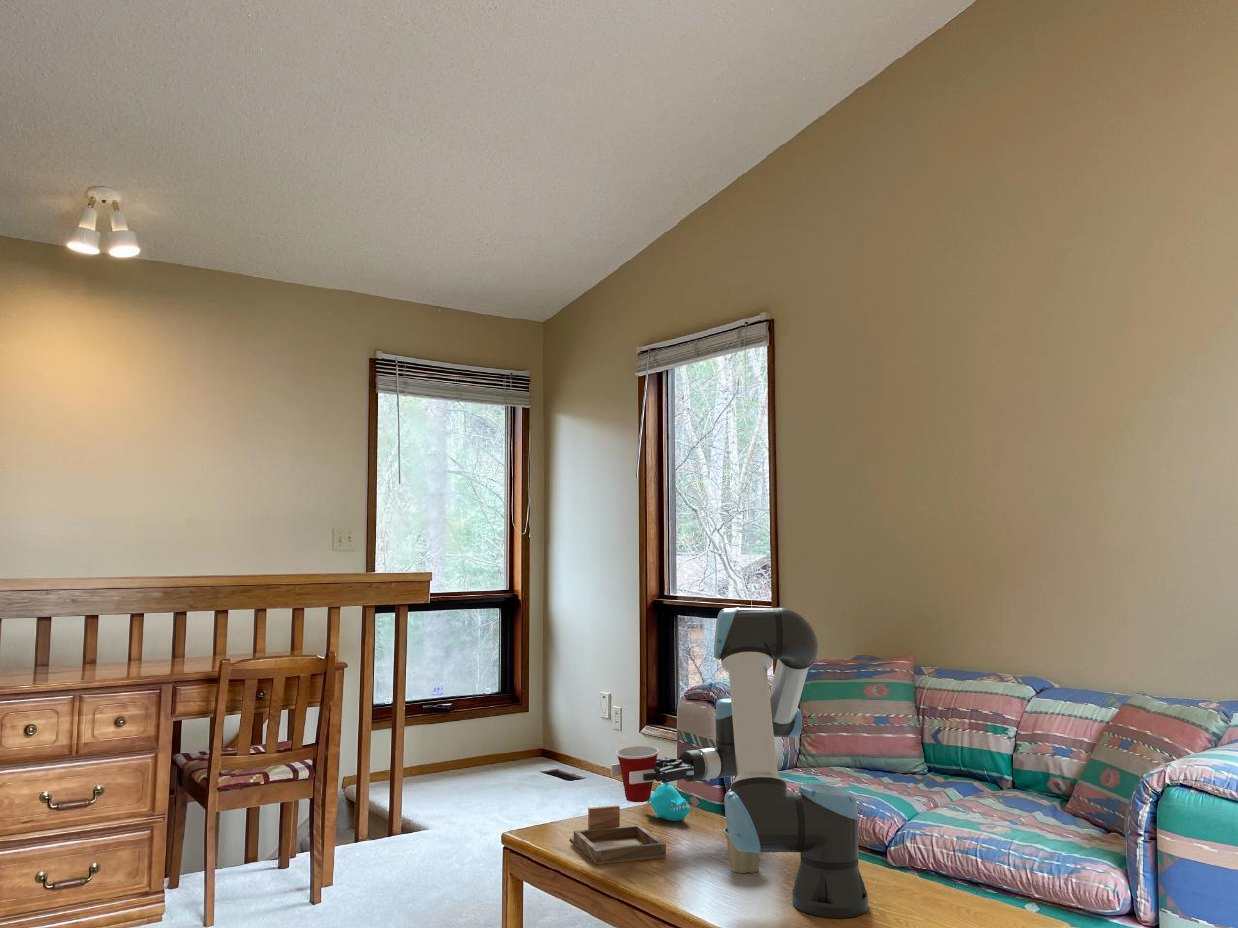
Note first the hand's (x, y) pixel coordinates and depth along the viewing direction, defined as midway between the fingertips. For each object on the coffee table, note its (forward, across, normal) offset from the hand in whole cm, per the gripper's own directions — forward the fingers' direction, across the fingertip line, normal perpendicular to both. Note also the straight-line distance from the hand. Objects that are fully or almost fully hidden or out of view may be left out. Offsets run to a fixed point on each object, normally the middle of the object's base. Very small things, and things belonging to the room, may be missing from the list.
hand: (620, 773), depth 233 cm
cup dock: (0, +2, -18) cm, 18 cm away
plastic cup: (-5, 0, -7) cm, 8 cm away
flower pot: (-18, -26, -18) cm, 36 cm away
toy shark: (-25, +20, -18) cm, 37 cm away
